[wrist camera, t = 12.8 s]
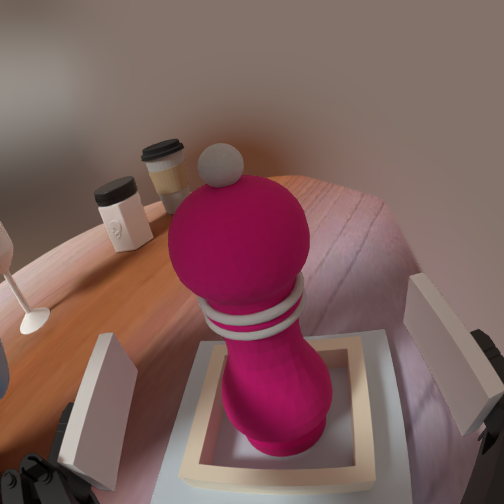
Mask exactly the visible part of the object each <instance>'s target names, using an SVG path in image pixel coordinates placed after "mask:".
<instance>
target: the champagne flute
mask: <svg viewBox="0 0 504 504" xmlns="http://www.w3.org/2000/svg"><path fill="white" fill-rule="evenodd" d="M12 255H13V243H12V241H11V239H10V237H9V236H8V234H7V232H6V230H5V229H4V227H3V225H2V223H1V221H0V274H3V275H4V277H5V279H6V281H7V283H8V284H9V286H10V288H11V290H12V291H13V293H14V295H15V296H16V298H17V300H18V301H19V303H20V304H21V306H22V308H23V309H24V311H25V312H26V315H25V317H24V319H23V321H22V324H21V326H20V331H21V333H22V334H30V333H32V332H35V331H36V330H38V329H39V328H40V327H42V326H43V325H44V324H45V322H46V321H47V320H48V318H49V316H50V310H49V309H48V308H37V309H31V308H30V307H29V305H28V303H27V302H26V300H25V298H24V297H23V295H22V293H21V292H20V290H19V288H18V287H17V285H16V283H15V281H14V280H13V278H12V276H11V274H10V272H9V271H8V269H9V267H10V264H11V259H12Z"/></svg>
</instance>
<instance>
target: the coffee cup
mask: <svg viewBox="0 0 504 504" xmlns="http://www.w3.org/2000/svg"><path fill="white" fill-rule="evenodd" d="M183 148H184V146H183V144H182V143H180V142H179V140H178V139H171V140H167V141H163V142H160V143H157V144H154V145H151V146H149V147H147V148H145V149H143V155H142V156H141V158H142V161H145V163H146V165H147V168H148V170H149V174H150V177H151V179H152V181H153V184H154V186H155V188H156V191H157V193H158V195H159V196H160V198H161V200H162V203H163V205H164V207H165V209H166V211H167V213H168V214H174V213H175V211H176V209H177V208H178V207H179V205H180V204H181V203H182V202H183V200H184V199H185V198H186V197H187V196H188V195H190V192H189V186H188V184H189V182H188V177H187V171H186V165H185V160H184V157H183V152H182V149H183Z"/></svg>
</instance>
